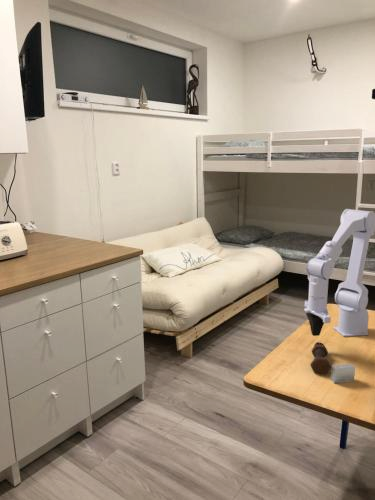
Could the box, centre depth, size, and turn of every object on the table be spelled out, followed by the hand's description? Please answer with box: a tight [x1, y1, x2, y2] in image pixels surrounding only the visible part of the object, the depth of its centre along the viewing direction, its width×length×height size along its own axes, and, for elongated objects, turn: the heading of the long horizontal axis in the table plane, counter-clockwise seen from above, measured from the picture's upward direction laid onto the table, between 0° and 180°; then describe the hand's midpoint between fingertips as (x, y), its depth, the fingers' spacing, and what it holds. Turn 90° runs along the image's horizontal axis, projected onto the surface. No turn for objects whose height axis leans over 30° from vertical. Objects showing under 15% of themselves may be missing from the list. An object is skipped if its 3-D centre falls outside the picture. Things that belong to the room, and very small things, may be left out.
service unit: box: [330, 363, 356, 384], centre depth 116 cm, size 6×2×4 cm, turn 98°
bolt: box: [310, 342, 332, 376], centre depth 126 cm, size 6×5×15 cm
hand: (315, 334), depth 133 cm, fingers closed
